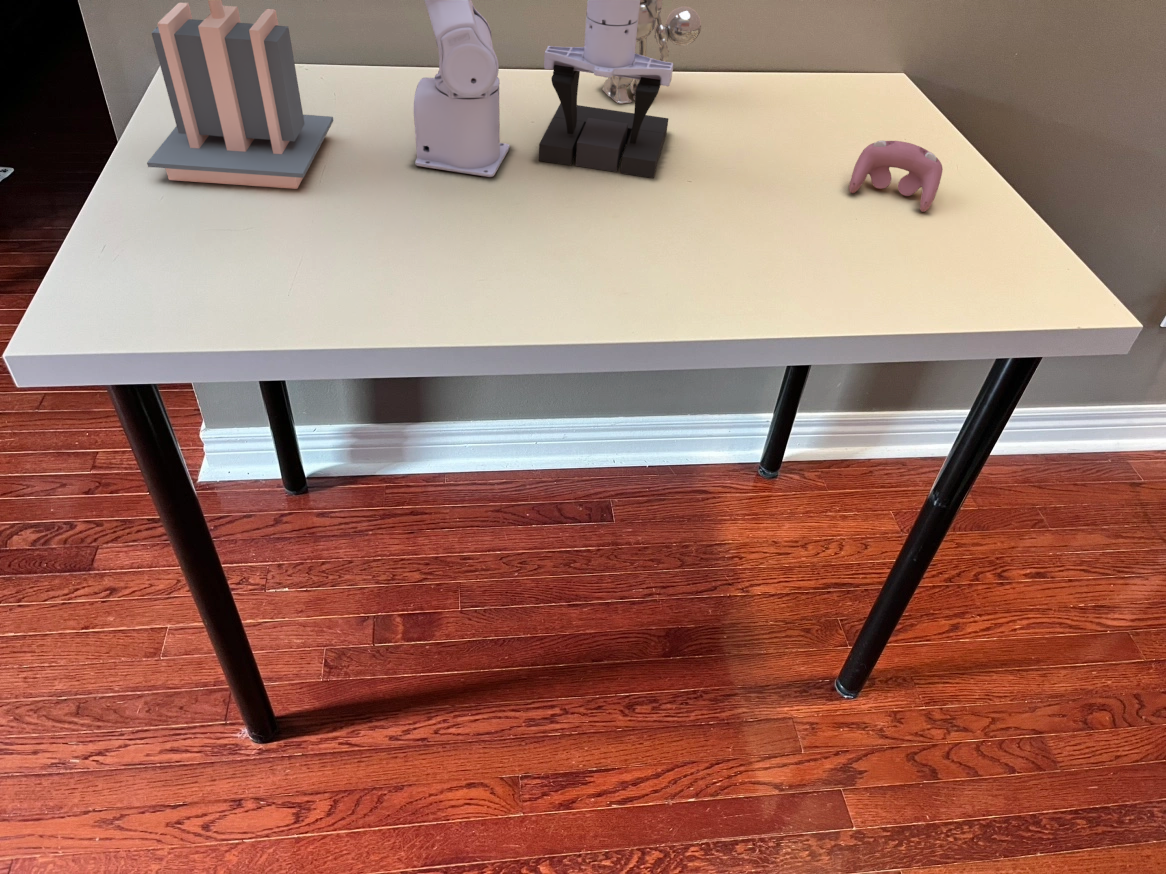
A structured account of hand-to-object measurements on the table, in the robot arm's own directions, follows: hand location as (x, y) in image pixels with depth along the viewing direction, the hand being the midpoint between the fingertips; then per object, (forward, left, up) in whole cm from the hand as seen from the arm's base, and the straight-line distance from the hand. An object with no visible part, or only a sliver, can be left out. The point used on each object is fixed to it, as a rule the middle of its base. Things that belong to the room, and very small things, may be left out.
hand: (602, 135), depth 106 cm
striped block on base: (-39, -14, -3) cm, 41 cm away
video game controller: (+35, +1, -3) cm, 35 cm away
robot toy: (+2, +19, -3) cm, 20 cm away
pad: (0, 0, -3) cm, 3 cm away
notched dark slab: (0, +2, -3) cm, 4 cm away
